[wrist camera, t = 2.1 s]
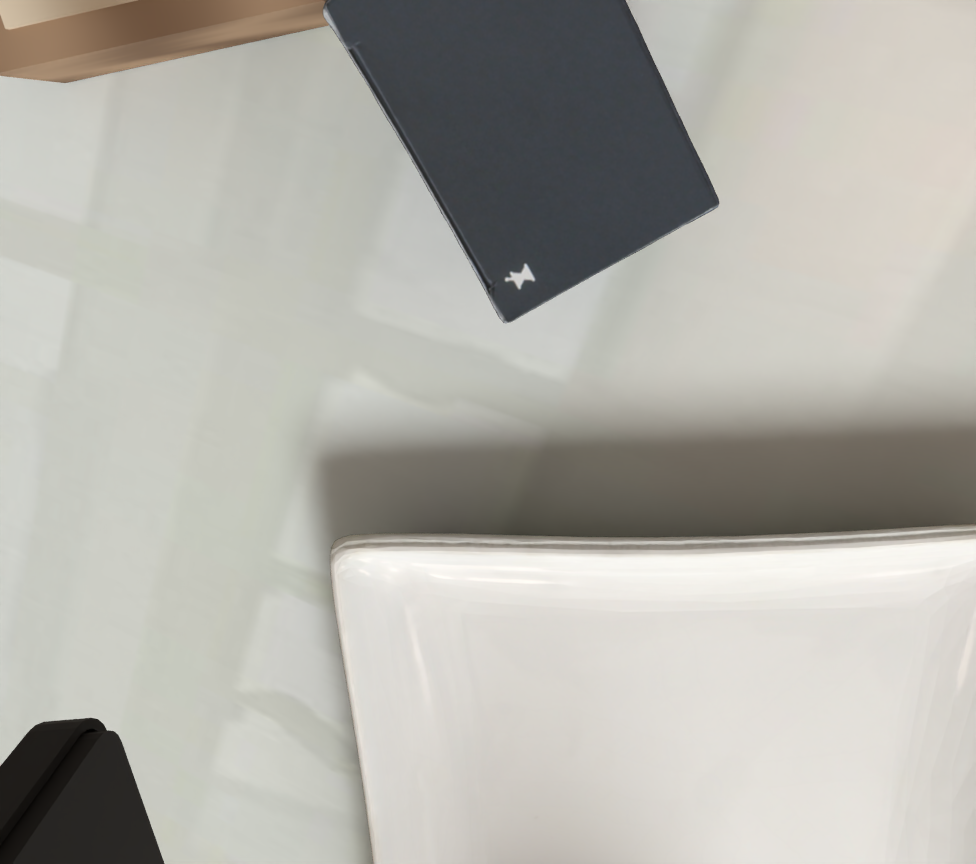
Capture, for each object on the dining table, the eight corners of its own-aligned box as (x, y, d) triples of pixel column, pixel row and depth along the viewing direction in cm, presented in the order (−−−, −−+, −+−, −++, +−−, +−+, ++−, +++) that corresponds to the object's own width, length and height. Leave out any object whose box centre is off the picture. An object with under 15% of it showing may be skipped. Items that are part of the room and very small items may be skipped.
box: (656, 183, 27) (728, 210, 17) (510, 265, 29) (499, 335, 19) (546, -47, 25) (556, -165, 15) (393, 53, 26) (310, 4, 17)
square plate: (1047, 481, 31) (1117, 527, 27) (947, 989, 40) (989, 1075, 36) (342, 501, 33) (319, 547, 29) (403, 984, 42) (391, 1065, 38)
